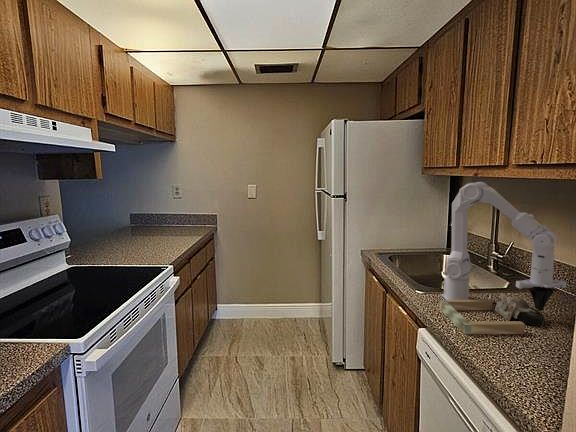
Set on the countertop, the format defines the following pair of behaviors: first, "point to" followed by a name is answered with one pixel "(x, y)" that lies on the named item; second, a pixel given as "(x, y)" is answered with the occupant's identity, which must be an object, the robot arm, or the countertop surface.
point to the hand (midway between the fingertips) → (538, 309)
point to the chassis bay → (478, 327)
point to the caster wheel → (518, 310)
